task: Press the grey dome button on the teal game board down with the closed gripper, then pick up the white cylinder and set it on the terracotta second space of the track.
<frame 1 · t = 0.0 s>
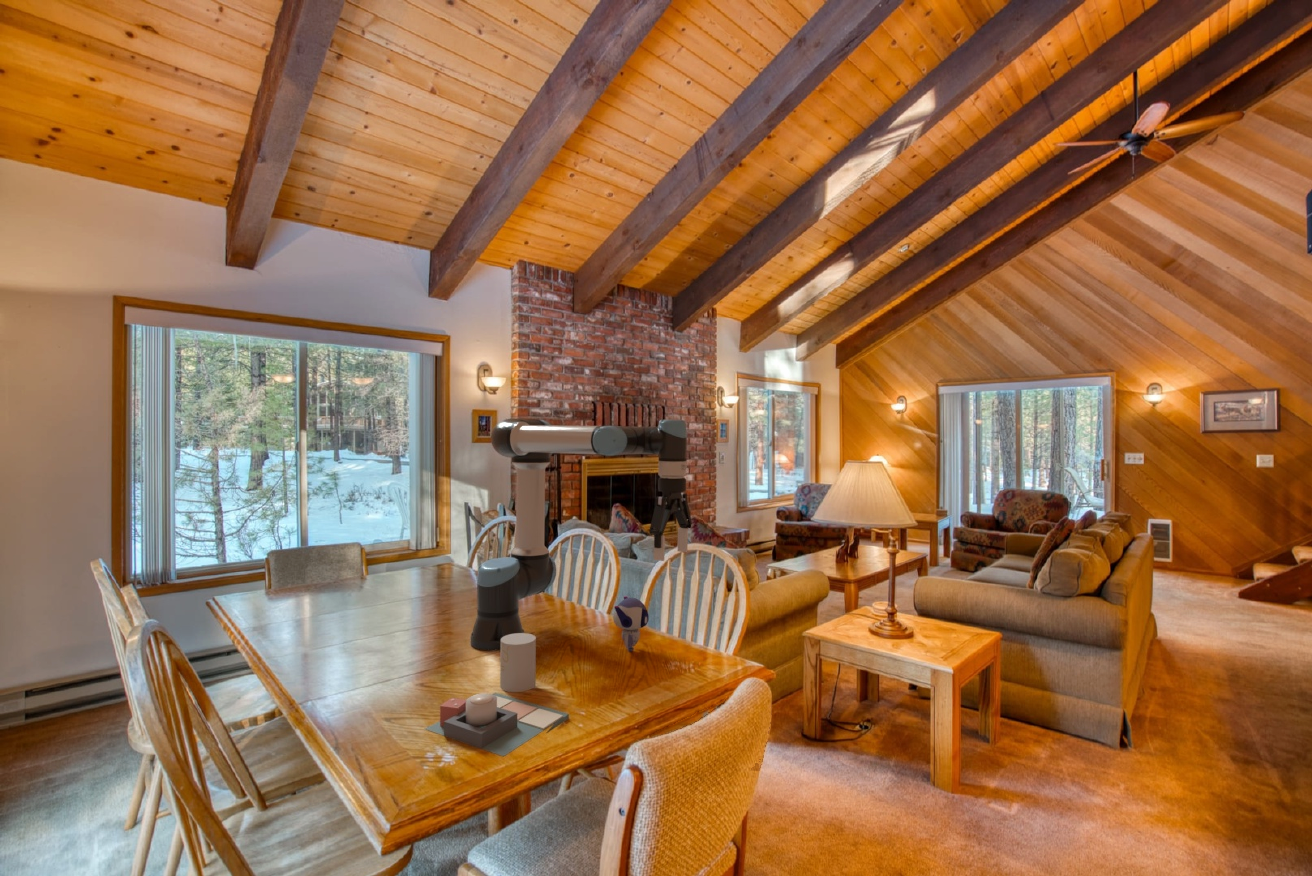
hand: (671, 555, 166), 28 cm above the table, fingers open, 13 cm apart
dome: (481, 708, 124), point 6 cm above the table, slide at 0.0 cm
board: (498, 725, 128), on the table
toy: (630, 652, 172), on the table
die: (454, 722, 127), point 1 cm above the table, touching board
white cylinder: (517, 690, 147), on the table
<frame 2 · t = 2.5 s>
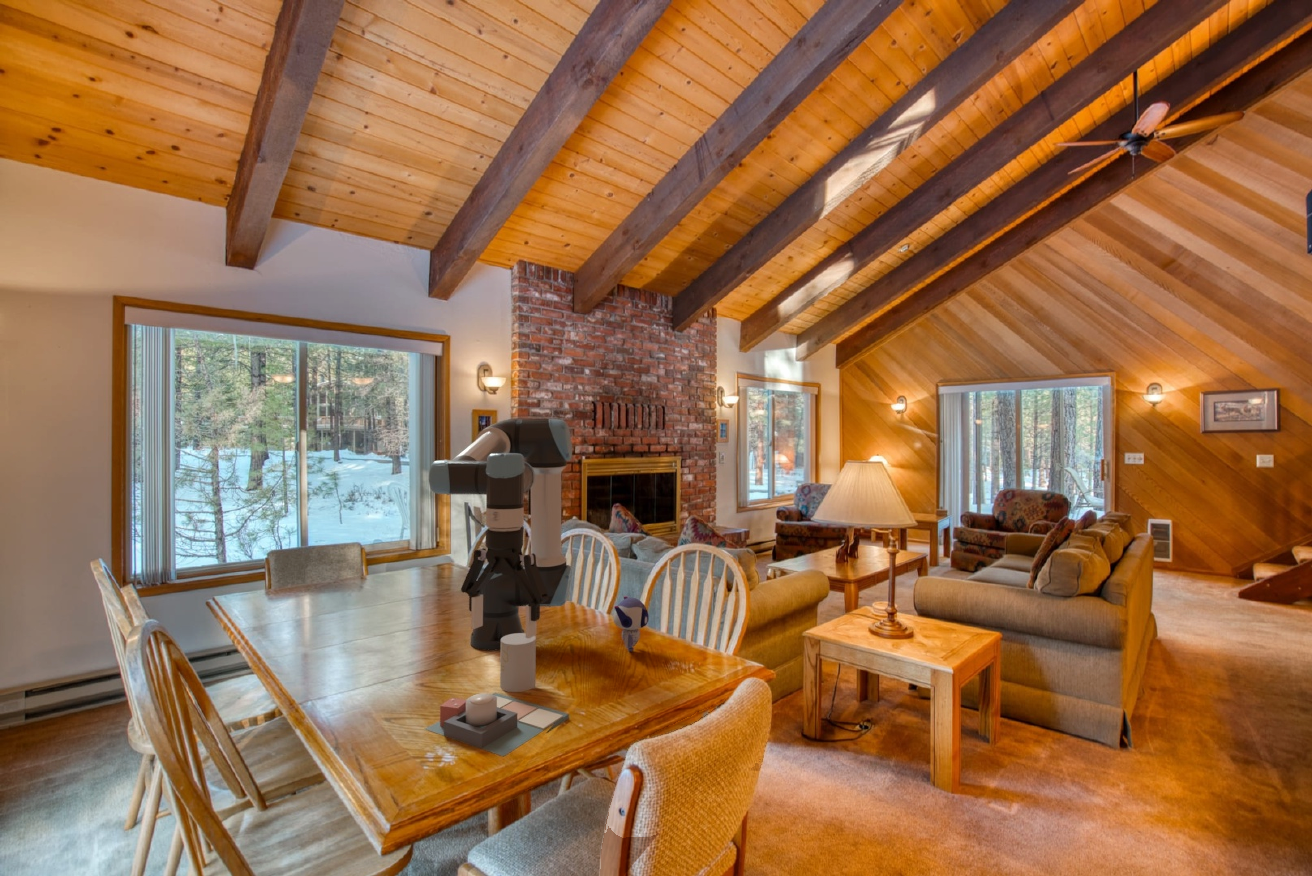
hand: (503, 631, 127), 20 cm above the table, fingers open, 13 cm apart
nothing on the table moved.
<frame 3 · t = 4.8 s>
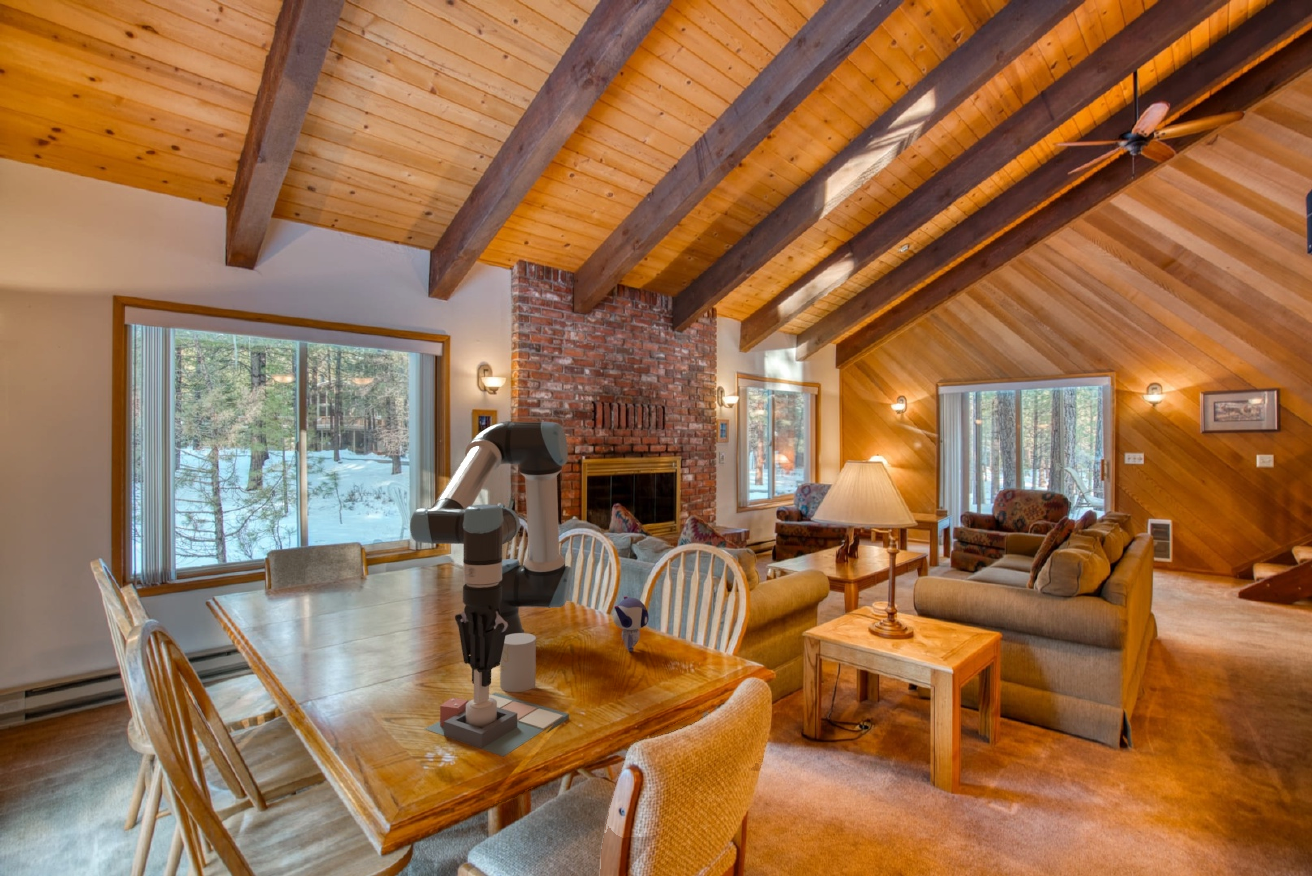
hand: (481, 700, 124), 7 cm above the table, fingers closed
dome: (481, 712, 124), point 5 cm above the table, slide at 0.8 cm, touching gripper
everything else where it was.
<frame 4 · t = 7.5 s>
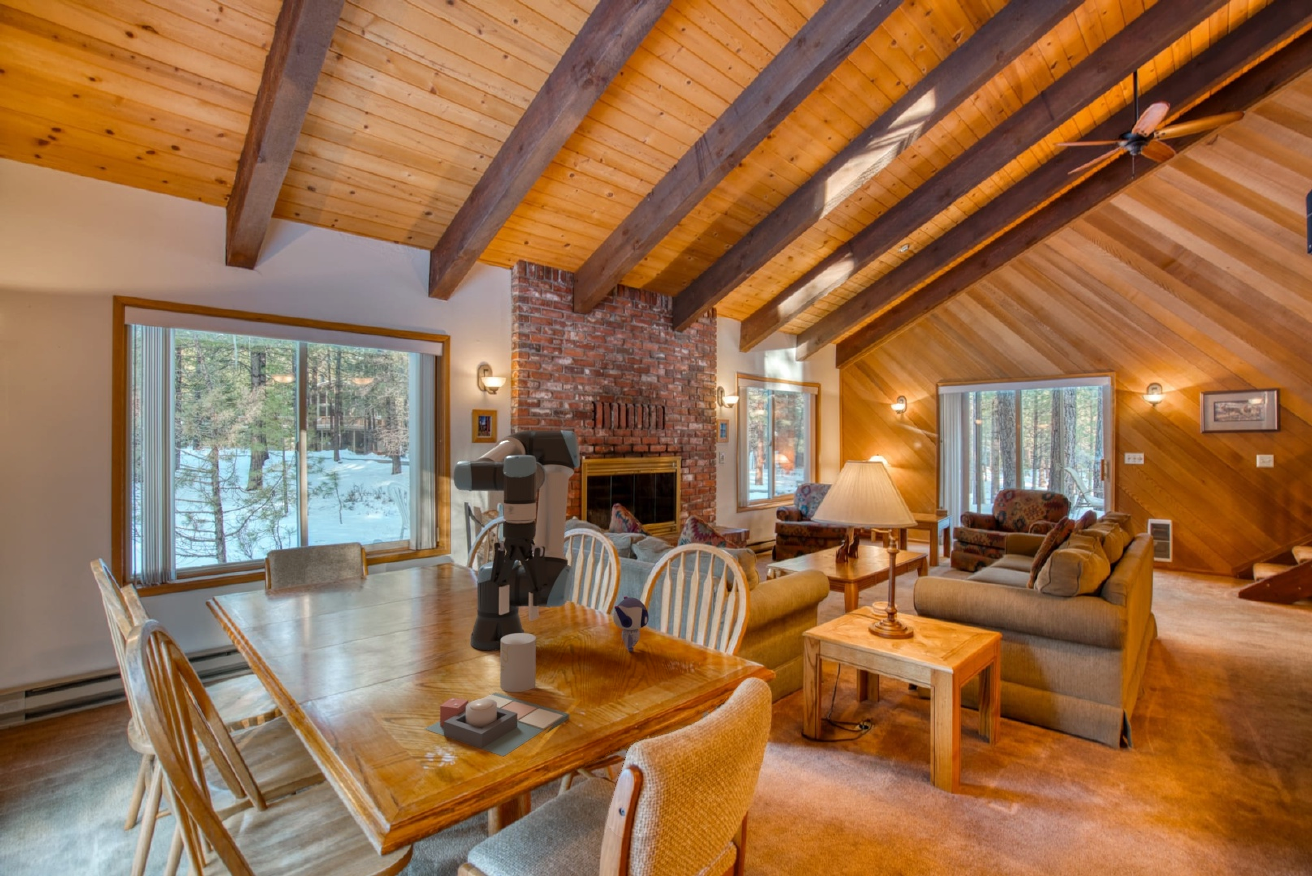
hand: (518, 616, 146), 17 cm above the table, fingers open, 8 cm apart
dome: (481, 714, 124), point 4 cm above the table, slide at 1.1 cm
everything else where it was.
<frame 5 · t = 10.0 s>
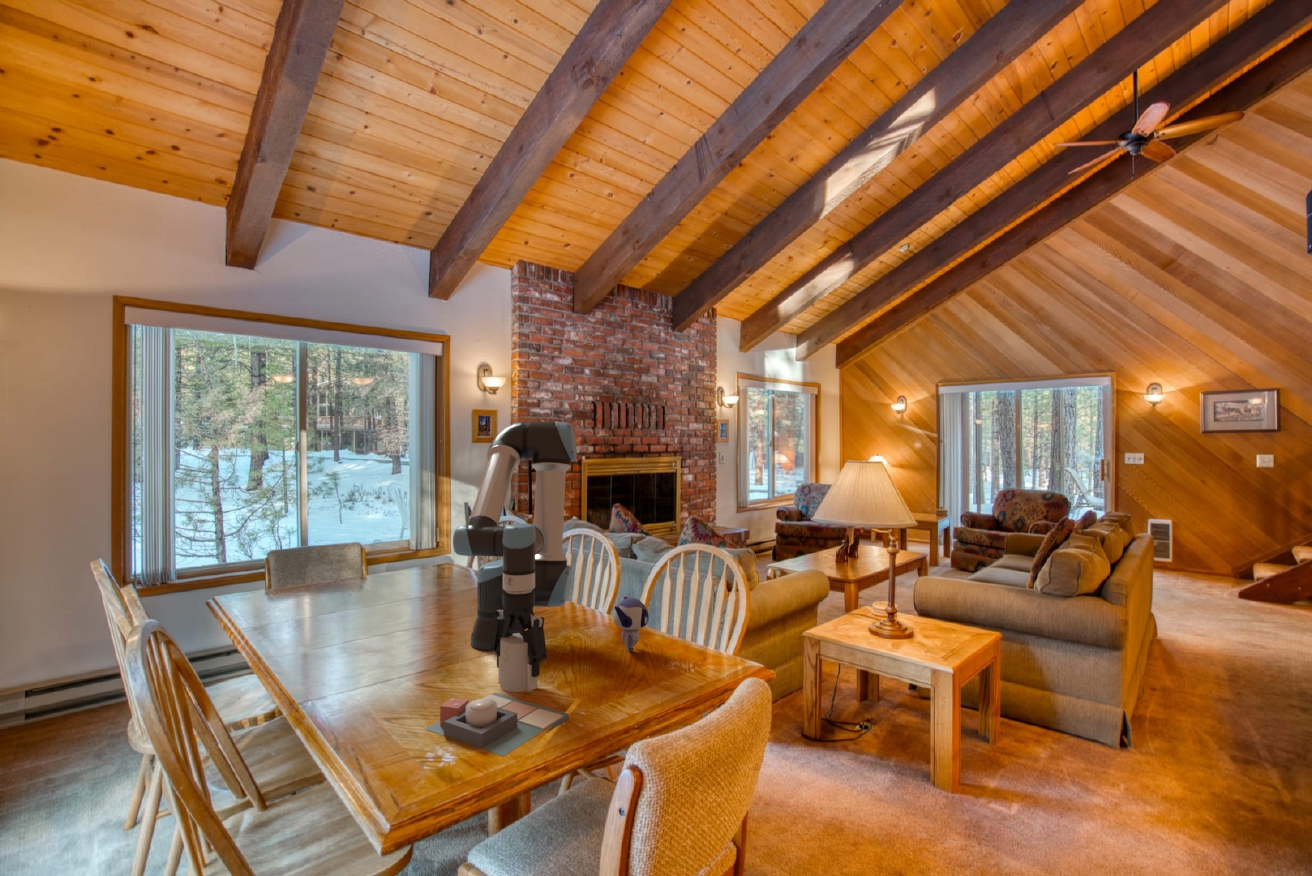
hand: (517, 685, 146), 1 cm above the table, fingers closed on white cylinder, 8 cm apart
white cylinder: (517, 689, 147), on the table, touching gripper
everything else where it was.
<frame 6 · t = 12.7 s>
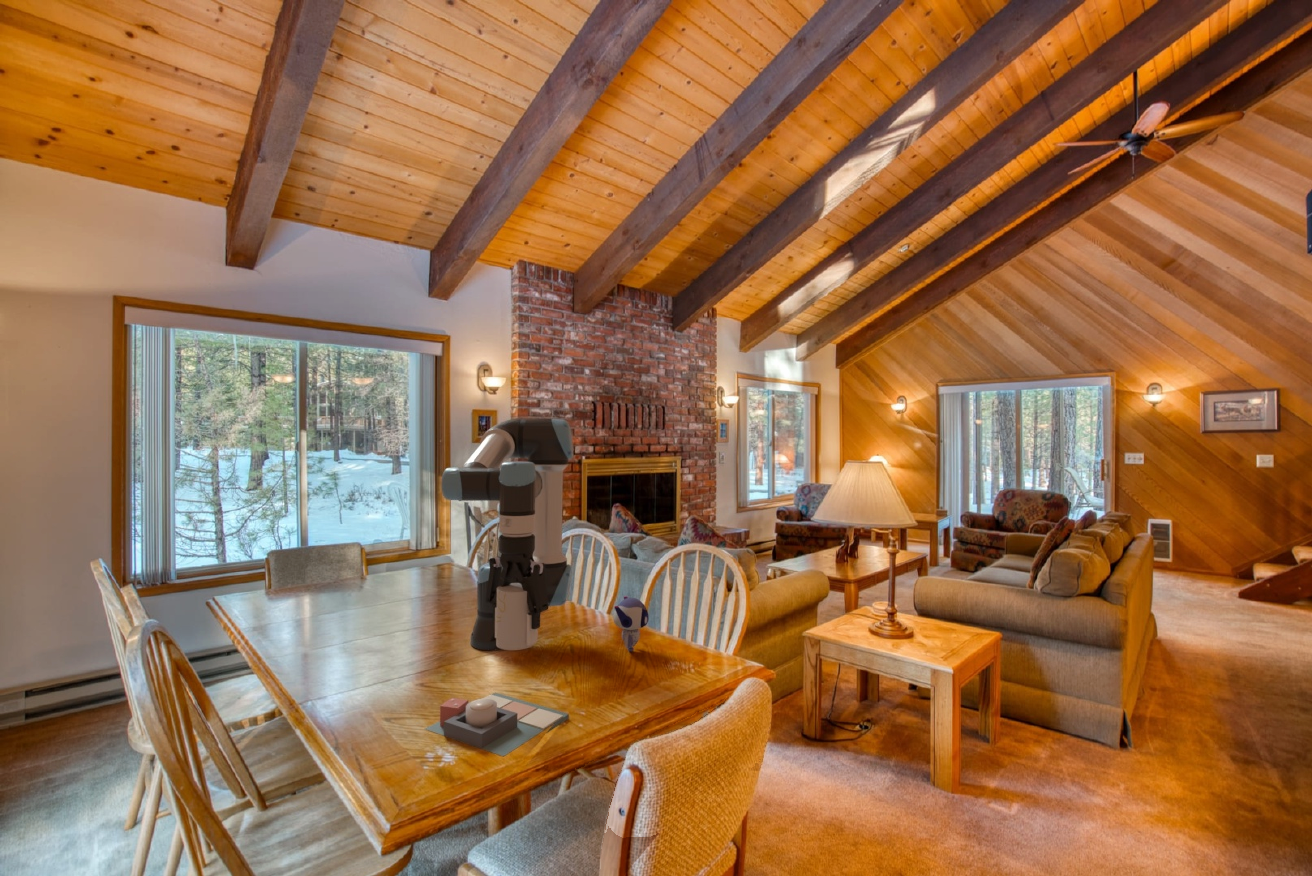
hand: (516, 639, 132), 16 cm above the table, fingers closed on white cylinder, 8 cm apart
white cylinder: (515, 644, 132), point 15 cm above the table, touching gripper
everything else where it was.
when the fingers open (4 cm above the table, at t = 15.4 s): white cylinder drops 1 cm, resting on board.
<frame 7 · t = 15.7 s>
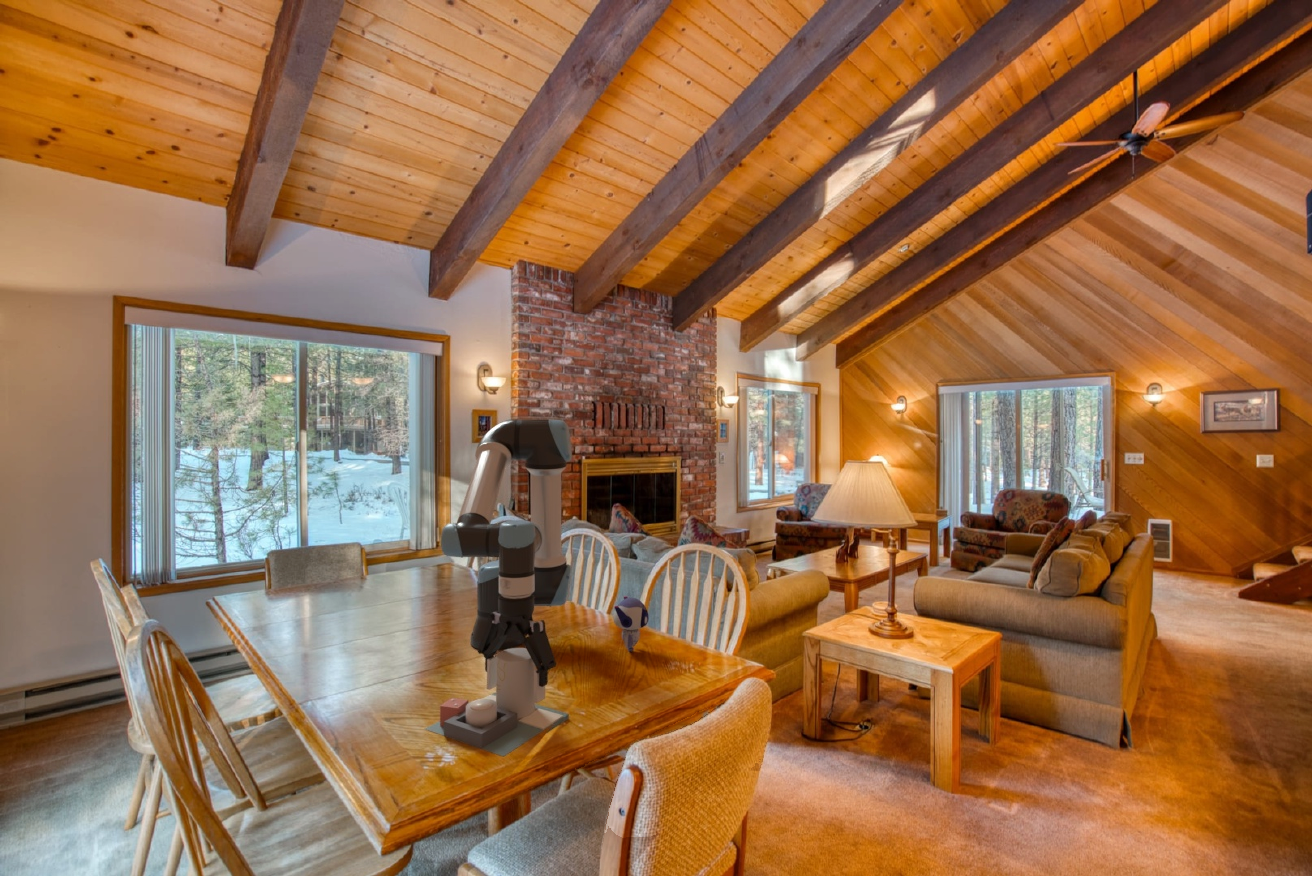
hand: (515, 693, 133), 5 cm above the table, fingers open, 12 cm apart
white cylinder: (515, 711, 133), point 1 cm above the table, touching board
everything else where it was.
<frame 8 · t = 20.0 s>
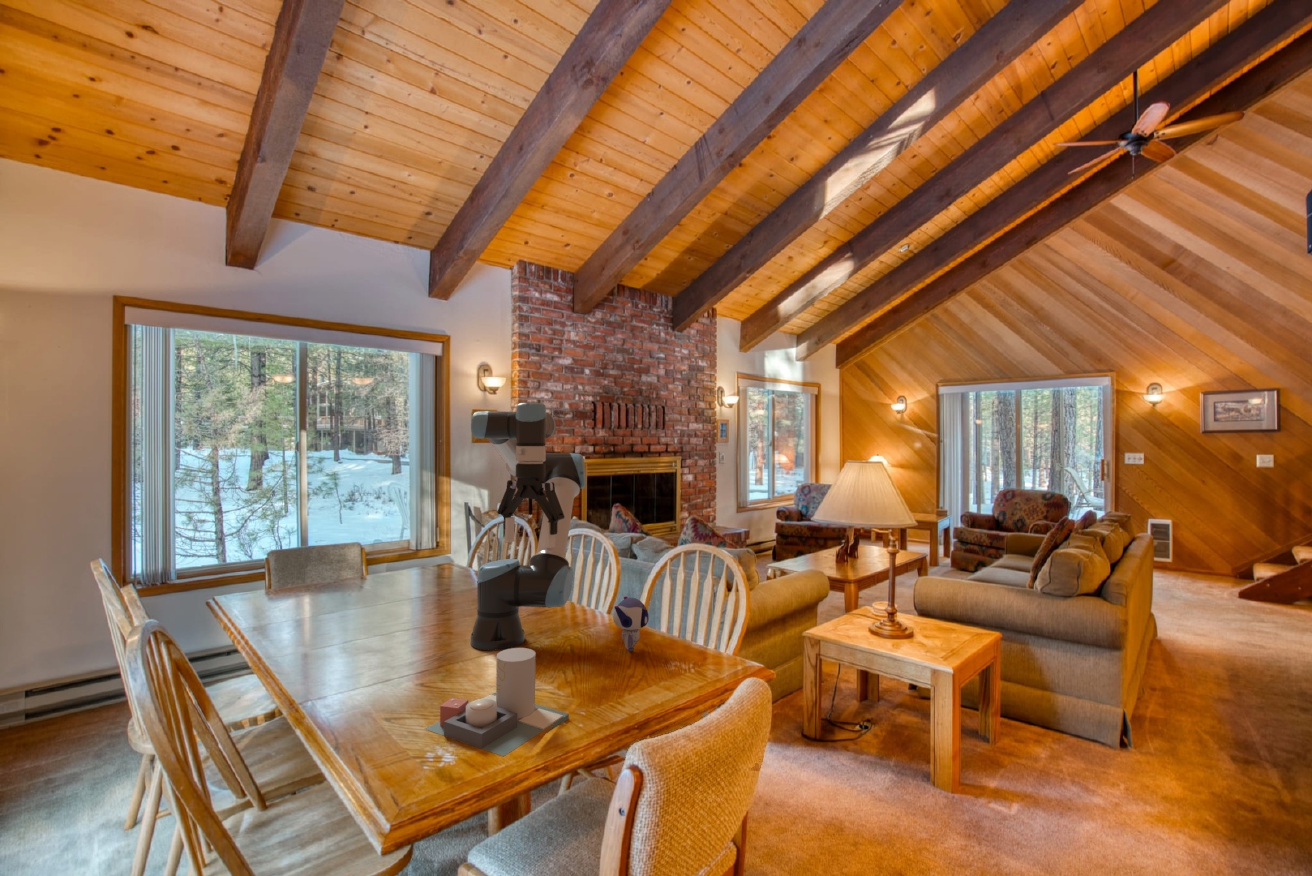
hand: (529, 544, 160), 32 cm above the table, fingers open, 13 cm apart
nothing on the table moved.
at the end: dome slide at 1.1 cm; white cylinder inside the target area (0.1 cm from its centre), point 1.1 cm above the table; white cylinder tilted 0° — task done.
